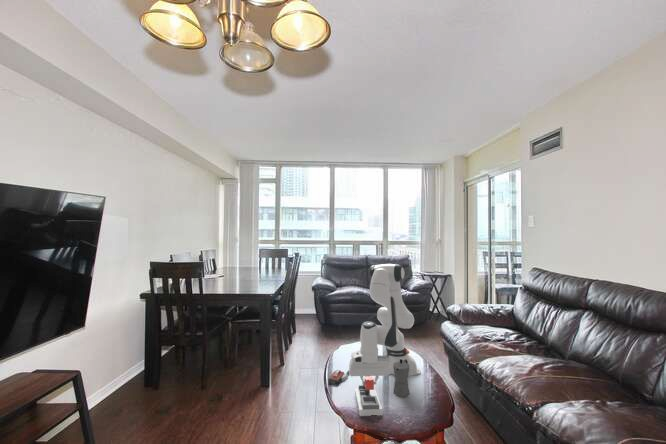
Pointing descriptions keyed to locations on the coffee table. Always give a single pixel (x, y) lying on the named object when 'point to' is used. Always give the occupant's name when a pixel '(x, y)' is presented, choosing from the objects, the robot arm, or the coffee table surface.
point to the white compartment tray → (368, 402)
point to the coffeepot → (401, 378)
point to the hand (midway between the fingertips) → (369, 384)
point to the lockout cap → (369, 383)
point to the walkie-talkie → (337, 377)
